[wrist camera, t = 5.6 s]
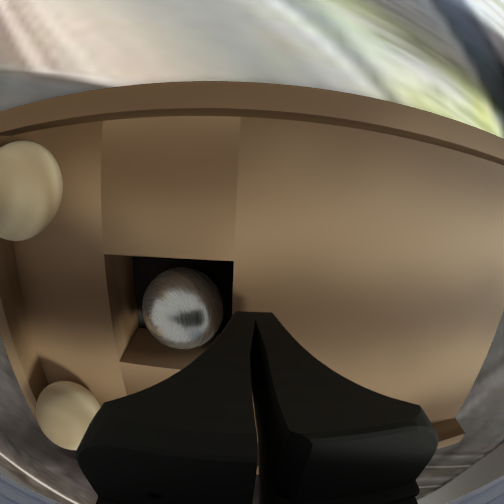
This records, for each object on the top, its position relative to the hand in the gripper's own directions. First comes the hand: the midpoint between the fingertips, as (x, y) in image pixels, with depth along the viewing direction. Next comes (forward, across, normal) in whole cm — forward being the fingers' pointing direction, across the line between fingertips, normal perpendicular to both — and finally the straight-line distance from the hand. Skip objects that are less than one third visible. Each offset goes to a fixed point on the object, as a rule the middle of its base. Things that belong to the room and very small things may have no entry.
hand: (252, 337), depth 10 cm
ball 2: (-1, +8, +5) cm, 10 cm away
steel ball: (+2, +3, 0) cm, 4 cm away
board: (+4, -1, 0) cm, 4 cm away
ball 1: (-1, +8, -5) cm, 10 cm away
